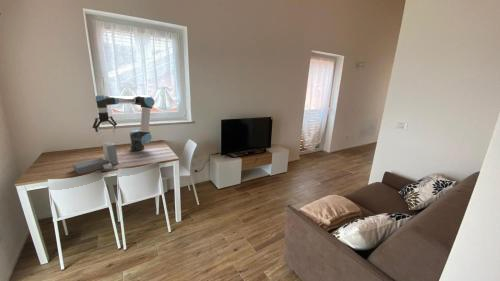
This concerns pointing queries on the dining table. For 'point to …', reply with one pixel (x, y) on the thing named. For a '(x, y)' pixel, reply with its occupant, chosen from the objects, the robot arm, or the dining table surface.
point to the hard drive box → (110, 153)
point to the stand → (88, 165)
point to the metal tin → (107, 166)
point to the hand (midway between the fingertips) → (106, 133)
